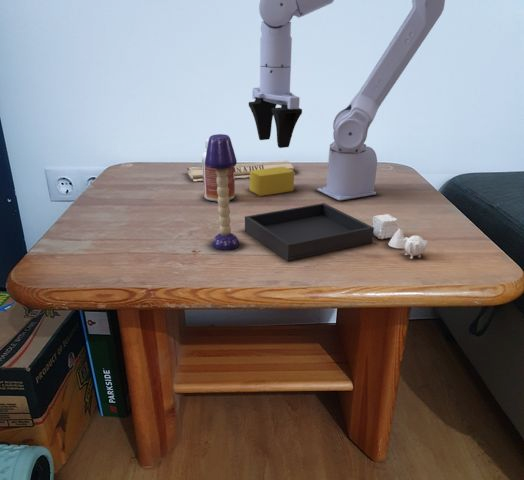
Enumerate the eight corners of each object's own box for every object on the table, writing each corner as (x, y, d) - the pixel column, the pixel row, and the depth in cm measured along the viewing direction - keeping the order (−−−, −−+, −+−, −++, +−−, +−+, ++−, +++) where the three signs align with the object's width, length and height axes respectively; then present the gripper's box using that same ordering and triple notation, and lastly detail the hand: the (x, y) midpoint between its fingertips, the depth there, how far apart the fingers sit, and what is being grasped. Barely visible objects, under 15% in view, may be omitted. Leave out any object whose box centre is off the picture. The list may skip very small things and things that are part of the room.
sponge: (282, 185, 114) (283, 166, 112) (293, 190, 111) (294, 171, 108) (249, 190, 111) (249, 170, 108) (260, 196, 107) (260, 176, 105)
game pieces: (369, 234, 90) (372, 215, 88) (386, 231, 91) (389, 213, 89) (409, 261, 81) (413, 241, 79) (428, 258, 82) (431, 238, 80)
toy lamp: (227, 253, 82) (224, 140, 73) (203, 247, 85) (197, 136, 75) (244, 243, 86) (243, 134, 77) (220, 237, 88) (217, 131, 79)
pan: (323, 216, 97) (324, 202, 96) (372, 242, 87) (374, 227, 86) (244, 231, 91) (244, 216, 89) (287, 261, 80) (288, 244, 79)
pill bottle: (240, 199, 105) (240, 140, 99) (213, 204, 102) (211, 144, 96) (225, 191, 110) (223, 134, 104) (198, 196, 107) (195, 138, 101)
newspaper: (284, 166, 127) (284, 158, 126) (295, 174, 121) (295, 166, 120) (187, 173, 121) (186, 165, 120) (193, 181, 115) (193, 173, 114)
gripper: (238, 63, 102) (239, 138, 109) (276, 70, 91) (274, 152, 99) (270, 62, 105) (269, 135, 112) (310, 69, 94) (306, 149, 102)
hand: (273, 143), depth 106 cm, fingers open, 7 cm apart
